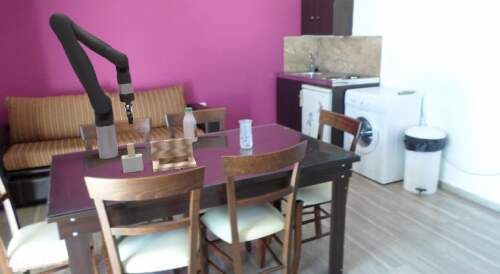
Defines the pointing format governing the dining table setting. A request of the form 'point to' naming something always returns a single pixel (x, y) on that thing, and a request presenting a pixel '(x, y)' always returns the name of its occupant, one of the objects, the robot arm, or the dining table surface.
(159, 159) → the woven pattern crate
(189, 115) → the milk bottle
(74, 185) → the dining table surface
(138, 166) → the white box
